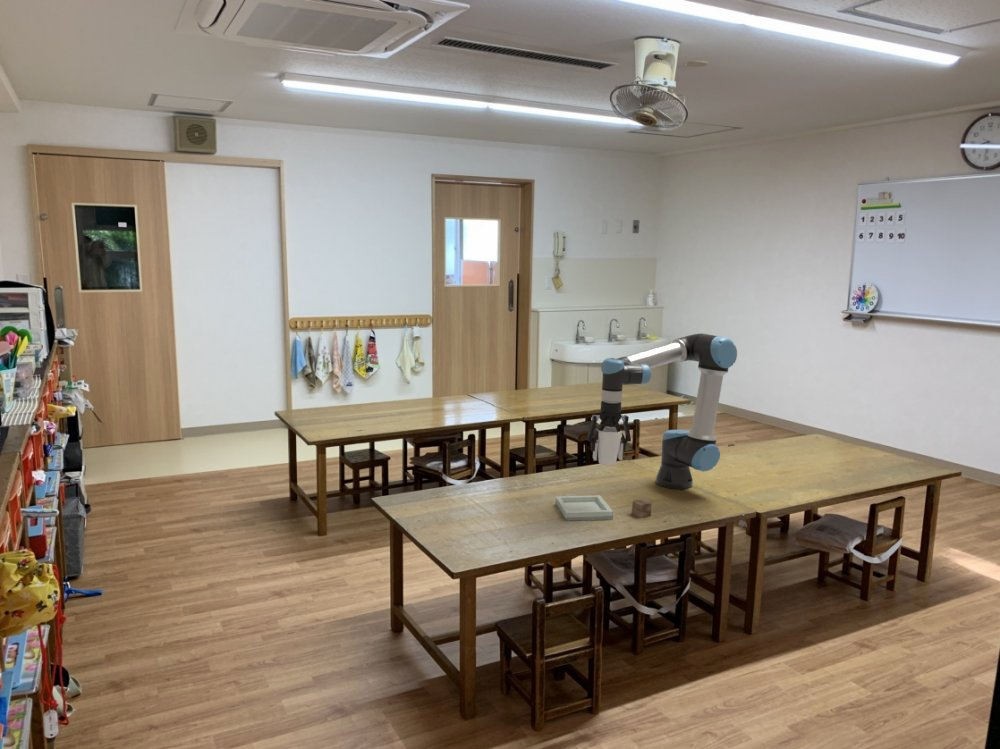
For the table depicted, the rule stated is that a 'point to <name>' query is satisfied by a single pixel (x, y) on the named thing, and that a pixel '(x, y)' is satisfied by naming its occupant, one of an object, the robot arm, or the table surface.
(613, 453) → the foam cup
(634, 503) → the walnut block
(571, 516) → the tray
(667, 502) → the table surface
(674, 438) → the robot arm
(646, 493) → the table surface
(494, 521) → the table surface
